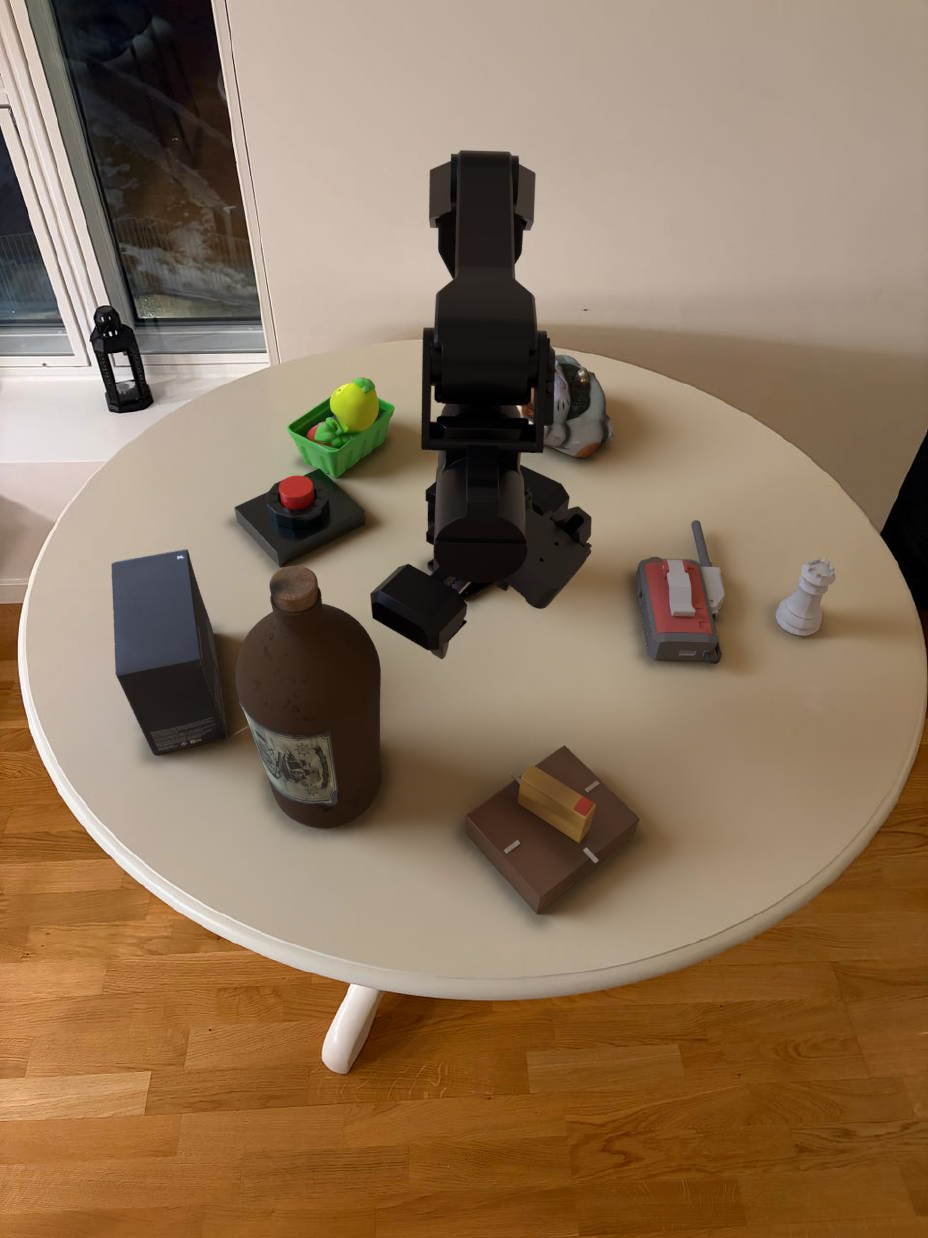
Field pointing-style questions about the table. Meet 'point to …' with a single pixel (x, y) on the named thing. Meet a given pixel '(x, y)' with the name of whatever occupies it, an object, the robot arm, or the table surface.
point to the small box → (166, 652)
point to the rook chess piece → (806, 599)
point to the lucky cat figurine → (575, 411)
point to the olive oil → (313, 703)
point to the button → (296, 492)
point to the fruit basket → (342, 427)
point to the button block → (300, 520)
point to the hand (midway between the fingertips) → (471, 620)
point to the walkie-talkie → (681, 605)
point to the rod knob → (556, 803)
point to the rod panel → (549, 833)
